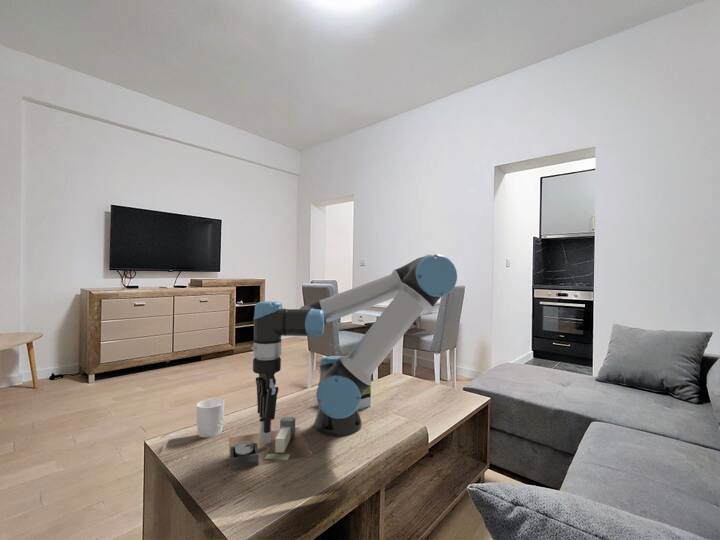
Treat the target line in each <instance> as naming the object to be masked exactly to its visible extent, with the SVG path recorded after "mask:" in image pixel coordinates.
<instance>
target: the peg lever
mask: <svg viewBox="0 0 720 540" xmlns="http://www.w3.org/2000/svg"><path fill="white" fill-rule="evenodd" d="M295 428H296V418H295V416H284V417H281V418H280V420H279V430H280V431H279V433H278V435H277V437H276V439H275V452H285V450H286V448H287V445H288V443H289V441H290V439H292V438H294V437H295Z"/></svg>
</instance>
